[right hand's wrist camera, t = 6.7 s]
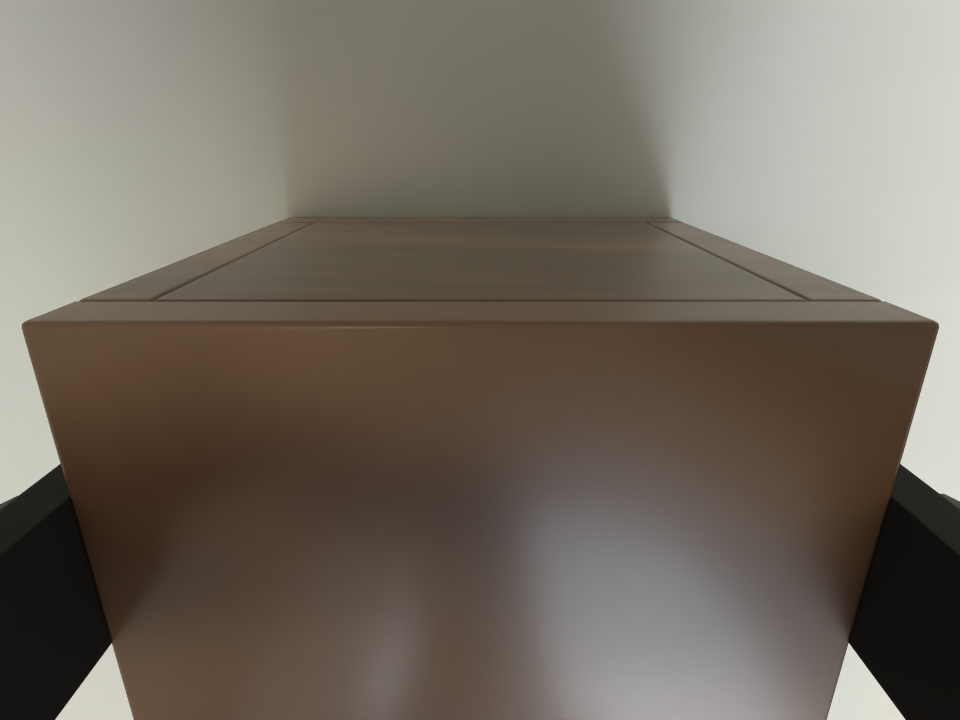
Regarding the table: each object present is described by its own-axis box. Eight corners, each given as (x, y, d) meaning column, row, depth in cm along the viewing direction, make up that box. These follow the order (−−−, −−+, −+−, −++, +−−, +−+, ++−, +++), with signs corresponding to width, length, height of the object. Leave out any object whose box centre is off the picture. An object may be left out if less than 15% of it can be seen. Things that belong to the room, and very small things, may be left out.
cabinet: (620, 680, 24) (725, 1078, 14) (338, 680, 24) (234, 1078, 14) (673, 217, 18) (943, 322, 7) (286, 217, 18) (16, 321, 7)
